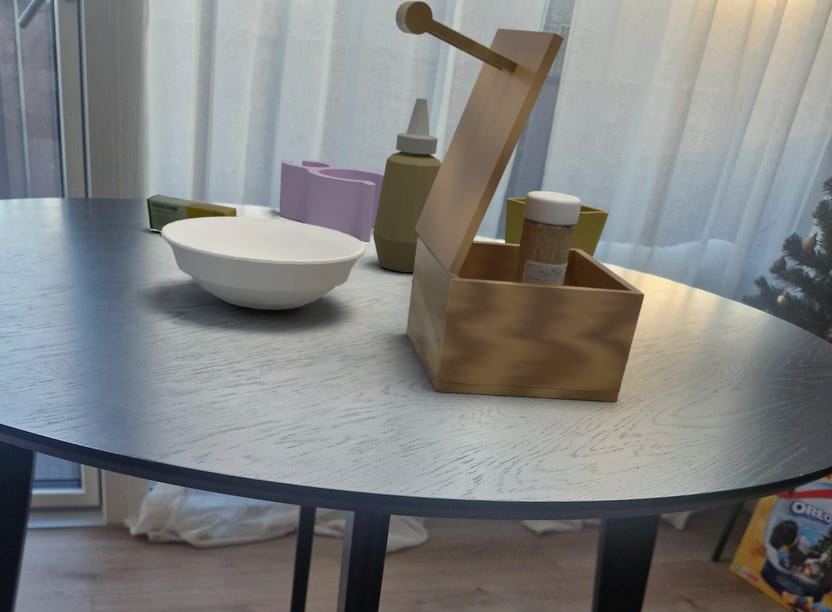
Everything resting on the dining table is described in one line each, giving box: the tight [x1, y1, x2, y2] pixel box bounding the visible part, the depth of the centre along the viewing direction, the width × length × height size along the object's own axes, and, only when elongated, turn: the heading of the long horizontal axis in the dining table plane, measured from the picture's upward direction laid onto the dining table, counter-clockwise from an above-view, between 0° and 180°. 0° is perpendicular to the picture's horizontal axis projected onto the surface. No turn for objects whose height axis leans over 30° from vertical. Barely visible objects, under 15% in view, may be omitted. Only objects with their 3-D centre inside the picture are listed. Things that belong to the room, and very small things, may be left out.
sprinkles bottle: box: [512, 190, 582, 286], centre depth 79 cm, size 5×5×13 cm
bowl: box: [160, 216, 367, 311], centre depth 91 cm, size 20×20×6 cm
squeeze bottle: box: [372, 97, 442, 273], centre depth 108 cm, size 8×8×18 cm
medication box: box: [146, 194, 238, 231], centre depth 115 cm, size 12×3×4 cm, turn 63°
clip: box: [278, 159, 384, 242], centre depth 131 cm, size 20×12×7 cm, turn 43°
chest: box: [405, 236, 645, 403], centre depth 81 cm, size 16×17×9 cm
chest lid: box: [395, 0, 565, 275], centre depth 72 cm, size 16×17×10 cm
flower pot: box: [504, 197, 610, 258], centre depth 110 cm, size 9×9×9 cm
